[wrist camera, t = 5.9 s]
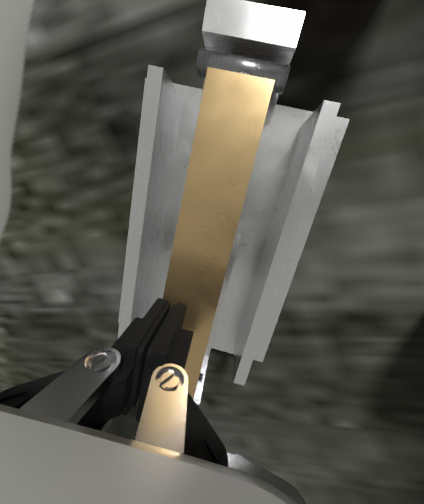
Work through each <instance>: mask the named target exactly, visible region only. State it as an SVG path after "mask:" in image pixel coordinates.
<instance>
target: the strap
mask: <svg viewBox="0 0 424 504" xmlns="http://www.w3.org/2000/svg"><path fill="white" fill-rule="evenodd" d="M290 68H291V65H286V64H281V63H276V62H271V61H265V60H260V59H255V58H250V57H244V56H239V55H234V54H229V53H224V52H218V51H213V50H208V49H203V48H200V49H199V52H198V57H197V76H198V77H199V78H204V79H205V84H204V89H203V94H202V99H201V104H200V109H199V114H198V119H197V125H196V130H195V135H194V140H193V145H192V150H191V155H190V161H189V166H188V171H187V176H186V181H185V186H184V191H183V196H182V202H181V207H180V212H179V217H178V222H177V227H176V232H175V237H174V243H173V248H172V253H171V258H170V263H169V268H168V273H167V279H166V284H165V289H164V294H163V299H166V300H168V303H171V307H172V305H173V304H175V305H176V304H177V303H182V304H186V305H187V308H186V313H185V318H184V323H183V327H182V329H186V330H190V331H194V333H193V338H192V342H191V346H190V350H189V354H188V358H187V362H186V365H185V369H184V370H185V371H186V373H187V375H188V392H189V394H190V395H191V397H192V398H193V399H194V395H195V391H196V387H197V383H198V379H199V375H200V371H201V367H202V363H203V360H204V356H205V352H206V348H207V344H208V340H209V336H210V332H211V328H212V324H213V320H214V317H215V313H216V309H217V305H218V301H219V297H220V293H221V289H222V285H223V281H224V278H225V274H226V270H227V266H228V262H229V258H230V254H231V250H232V246H233V242H234V238H235V235H236V231H237V227H238V223H239V219H240V215H241V211H242V207H243V203H244V199H245V195H246V192H247V188H248V184H249V180H250V176H251V172H252V168H253V164H254V160H255V156H256V153H257V149H258V145H259V141H260V137H261V133H262V129H263V125H264V121H265V117H266V113H267V110H268V106H269V102H270V98H271V94H272V92H273V93H278V94H283V91H284V89H285V86H286V82H287V79H288V76H289V72H290ZM171 307H170V309H171Z"/></svg>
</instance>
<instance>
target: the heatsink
mask: <svg viewBox="0 0 424 504" xmlns="http://www.w3.org/2000/svg"><path fill="white" fill-rule="evenodd" d="M305 13H306V11H300V10H295V9H289V8H283V7H278V6H272V5H266V4H261V3H255V2H249V1H243V0H207V3H206V9H205V15H204V21H203V27H202V33H203V38H204V43H205V47H206V49H208V50H213V51H218V52H224V53H229V54H234V55H239V56H244V57H250V58H255V59H260V60H265V61H271V62H276V63H281V64H286V65H290V62H291V60H292V57H293V54H294V52H295V49H296V46H297V43H298V39H299V35H300V32H301V28H302V24H303V21H304V17H305ZM204 84H205V80H204ZM203 89H204V85H203ZM203 89H198V88H194V87H189V86H184V85H179V84H174V83H172V82H171V80H170V79H169V77H168V75H167V73H166V72H165V70H164V68H162V67H157V66H152V65H148V73H147V78H145V86H144V95H143V104H142V113H141V122H140V131H139V140H138V149H137V158H136V167H135V177H134V186H133V195H132V204H131V213H130V222H129V231H128V240H127V249H126V258H125V267H124V276H123V285H122V294H121V303H120V312H119V321H118V322H119V331H118V338H119V337H120V336H121V335H122V333H123V332H124V331H125V330H126V328H127V327H128V326H129V325H130V324H131V322H132V321H133V320H134V319H135V318H136V317H139V318H143V317H144V316H145V315H146V313H147V312H148V311H149V309H150V308H151V307H152V305H153V304H154V303H155V301H156V300H157V299H158V298H162V299H163V294H164V289H165V284H166V279H167V273H168V268H169V263H170V258H171V253H172V248H173V243H174V237H175V232H176V227H177V222H178V217H179V212H180V207H181V202H182V196H183V191H184V186H185V181H186V176H187V171H188V166H189V161H190V155H191V150H192V145H193V140H194V135H195V130H196V125H197V119H198V114H199V109H200V104H201V99H202V94H203ZM278 95H279V94H278V93H273V92H272V94H271V98H270V102H269V106H268V110H267V113H266V117H265V121H264V125H263V129H262V133H261V137H260V141H259V145H258V149H257V153H256V156H255V160H254V164H253V168H252V172H251V176H250V180H249V184H248V188H247V192H246V195H245V199H244V203H243V207H242V211H241V215H240V219H239V223H238V227H237V231H236V235H235V238H234V242H233V246H232V250H231V254H230V258H229V262H228V266H227V270H226V274H225V278H224V281H223V285H222V289H221V293H220V297H219V301H218V305H217V309H216V313H215V317H214V320H213V324H212V328H211V332H210V336H209V340H208V344H207V348H206V352H205V356H204V360H203V363H202V367H201V371H200V375H199V379H198V383H197V387H196V391H195V395H194V399H193V400H194V401H195V403H196V404H197V406H198V407H199V405H200V400H201V394H202V389H203V383H204V378H205V372H206V367H207V362H208V358H209V354H210V350H211V348H213V349H217V350H220V351H224V352H228V353H231V354H234V381H233V383H237V384H240V385H245V382H246V379H247V376H248V373H249V370H250V367H251V364H252V361H253V360H257V361H260V362H263V359H264V356H265V354H266V351H267V348H268V345H269V342H270V340H271V337H272V334H273V331H274V329H275V326H276V323H277V320H278V317H279V315H280V312H281V309H282V306H283V304H284V301H285V298H286V295H287V292H288V290H289V287H290V284H291V281H292V278H293V276H294V273H295V270H296V267H297V265H298V262H299V259H300V256H301V253H302V251H303V248H304V245H305V242H306V239H307V237H308V234H309V231H310V228H311V226H312V223H313V220H314V217H315V214H316V212H317V209H318V206H319V203H320V200H321V198H322V195H323V192H324V189H325V187H326V184H327V181H328V178H329V175H330V173H331V170H332V167H333V164H334V161H335V159H336V156H337V153H338V150H339V148H340V145H341V142H342V139H343V136H344V134H345V131H346V128H347V125H348V122H349V120H350V119H346V118H341V117H336V116H337V113H338V110H339V107H340V104H341V103H337V102H332V101H327V100H324V101H323V102H322V103H321V104H320V105H319V106H318V108H317V109H316V110H315V111H314V112H312V111H307V110H302V109H297V108H292V107H287V106H282V105H277V104H276V103H277V99H278ZM138 402H139V400H138Z"/></svg>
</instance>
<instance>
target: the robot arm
mask: <svg viewBox="0 0 424 504" xmlns="http://www.w3.org/2000/svg"><path fill="white" fill-rule="evenodd" d="M170 307H171V303H168V300H166V299H162V298H158V299H157V300H156V301H155V303H154V304H153V305H152V307H151V308H150V309H149V311H148V312H147V313H146V315H145V316H144V317H143V318H139V317H136V318H135V319H134V320H133V321H132V322H131V324H130V325H129V326H128V327H127V328H126V330H125V331H124V332H123V333H122V335H121V336H120V337H119V338H118V339H117V341H116V342H115V343H114V344H113V346H112V347H111V348H110V347H101V348H96V349H94V350H91V351H90V352H88V353H87V354H85V355H84V356H83V357H82V358H80V359H79V360H78V361H77V362H76V363H74V364H73V365H72V366H71V367H69V368H68V369H67V370H65V371H62V372H59V373H56V374H53V375H49V376H46V377H43V378H40V379H37V380H34V381H30V382H27V383H24V384H21V385H18V386H14V387H12V388H9V389H7V390H5V391H3V392H1V393H0V504H306V503H305V501H304V499H303V497H302V496H301V494H300V493H299V492H298V490H297V489H296V488H295V487H294V486H292V485H291V484H290V483H288V482H287V481H285V480H283V479H281V478H280V477H278V476H276V475H274V474H273V473H271V472H269V471H267V470H265V469H264V468H262V467H260V466H258V465H257V464H255V463H253V462H251V461H250V460H248V459H246V458H244V457H242V456H241V455H239V454H237V453H236V454H235V456H233V455H232V454H230V453H228V452H226V449H225V447H224V445H223V443H222V441H221V440H220V438H219V437H218V435H217V434H216V432H215V431H214V429H213V428H212V427H211V425H210V424H209V422H208V421H207V419H206V418H205V416H204V415H203V413H202V412H201V410H200V409H199V407H198V406H197V404H196V403H195V401H194V400H193V398H192V397H191V395H190V394H189V392H188V375H187V373H186V371H185V370H184V369H185V365H186V362H187V358H188V354H189V350H190V346H191V342H192V338H193V333H194V331H190V330H186V329H182V327H183V323H184V318H185V313H186V308H187V305H186V304H182V303H177V304H176V305H175V304H173V305H172V307H171V309H170ZM138 399H139V402H138V410H137V416H136V419H137V421H138V424H139V426H138V430H137V434H136V438H135V440H132V439H128V438H125V437H121V436H117V435H114V434H110V433H106V431H107V430H108V428H109V427H110V425H111V423H112V421H113V418H114V417H116V416H118V415H120V414H123V415H127V413H128V411H129V409H130V407H135V405H136V403H137V401H138Z"/></svg>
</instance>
